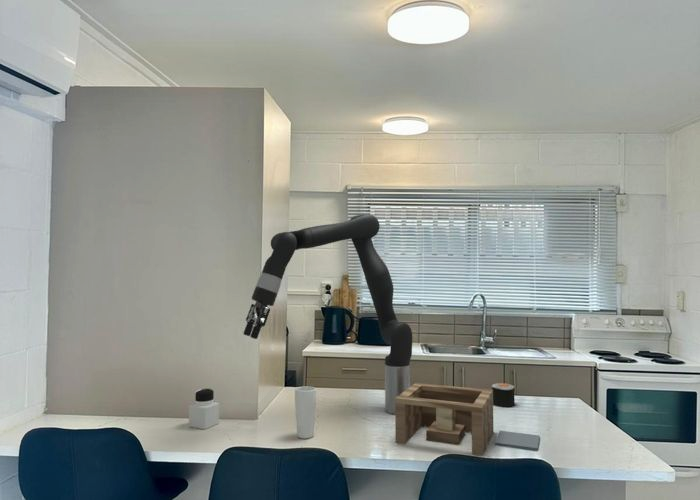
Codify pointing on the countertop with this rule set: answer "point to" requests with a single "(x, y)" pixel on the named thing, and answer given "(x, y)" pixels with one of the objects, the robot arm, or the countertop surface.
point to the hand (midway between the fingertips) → (249, 336)
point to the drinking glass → (305, 411)
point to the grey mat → (517, 440)
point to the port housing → (467, 402)
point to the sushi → (503, 395)
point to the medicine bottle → (204, 410)
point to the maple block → (445, 419)
